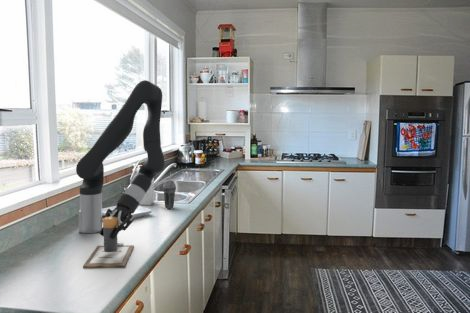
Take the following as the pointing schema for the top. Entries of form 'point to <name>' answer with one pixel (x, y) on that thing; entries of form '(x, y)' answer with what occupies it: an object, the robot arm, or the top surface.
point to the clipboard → (109, 257)
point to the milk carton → (149, 195)
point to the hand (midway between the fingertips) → (106, 236)
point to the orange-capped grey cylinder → (108, 226)
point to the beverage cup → (169, 193)
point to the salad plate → (138, 213)
